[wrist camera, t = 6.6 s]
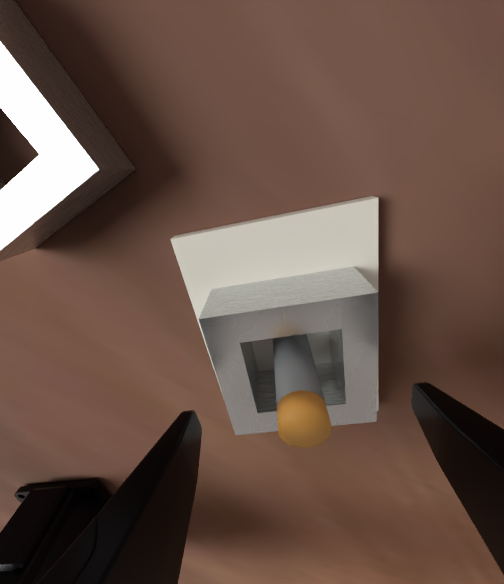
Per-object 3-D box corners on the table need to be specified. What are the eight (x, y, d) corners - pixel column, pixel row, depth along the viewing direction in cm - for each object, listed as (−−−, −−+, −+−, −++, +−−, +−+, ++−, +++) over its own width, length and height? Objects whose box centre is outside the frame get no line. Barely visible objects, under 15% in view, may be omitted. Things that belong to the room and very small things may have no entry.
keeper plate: (374, 401, 15) (430, 519, 10) (234, 417, 15) (221, 532, 11) (372, 196, 10) (476, 221, 5) (174, 235, 11) (105, 289, 6)
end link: (356, 378, 13) (376, 421, 11) (239, 391, 14) (235, 435, 12) (353, 266, 11) (378, 292, 8) (211, 289, 11) (198, 318, 9)
